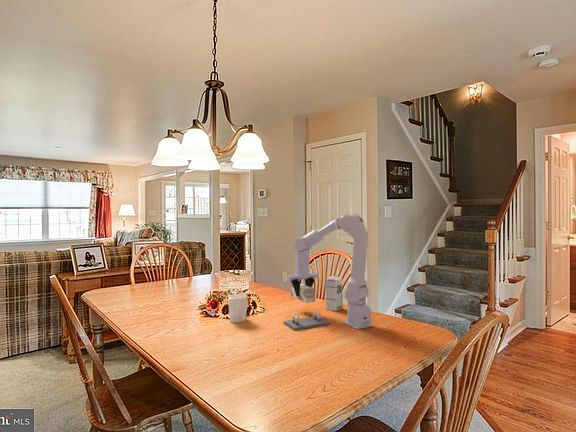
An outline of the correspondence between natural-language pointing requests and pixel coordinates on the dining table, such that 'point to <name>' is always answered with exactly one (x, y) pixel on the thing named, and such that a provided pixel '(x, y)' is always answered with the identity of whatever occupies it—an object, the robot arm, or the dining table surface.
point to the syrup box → (334, 293)
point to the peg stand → (306, 322)
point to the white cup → (237, 307)
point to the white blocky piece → (304, 293)
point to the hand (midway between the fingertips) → (302, 295)
